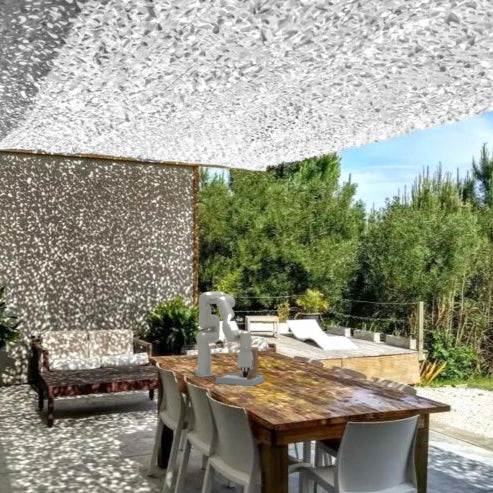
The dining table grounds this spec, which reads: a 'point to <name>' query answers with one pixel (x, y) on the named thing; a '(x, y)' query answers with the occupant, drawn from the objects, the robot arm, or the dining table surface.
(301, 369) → the dining table surface
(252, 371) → the block
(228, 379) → the trap box
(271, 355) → the dining table surface
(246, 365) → the robot arm
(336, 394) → the dining table surface
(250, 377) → the walnut block
